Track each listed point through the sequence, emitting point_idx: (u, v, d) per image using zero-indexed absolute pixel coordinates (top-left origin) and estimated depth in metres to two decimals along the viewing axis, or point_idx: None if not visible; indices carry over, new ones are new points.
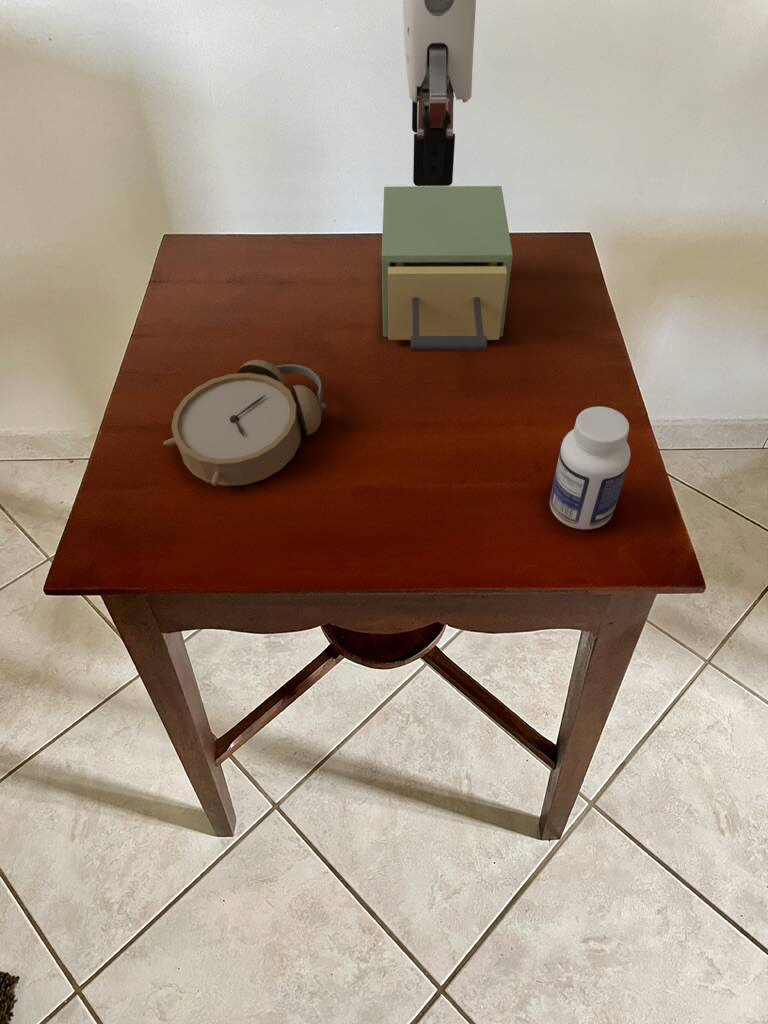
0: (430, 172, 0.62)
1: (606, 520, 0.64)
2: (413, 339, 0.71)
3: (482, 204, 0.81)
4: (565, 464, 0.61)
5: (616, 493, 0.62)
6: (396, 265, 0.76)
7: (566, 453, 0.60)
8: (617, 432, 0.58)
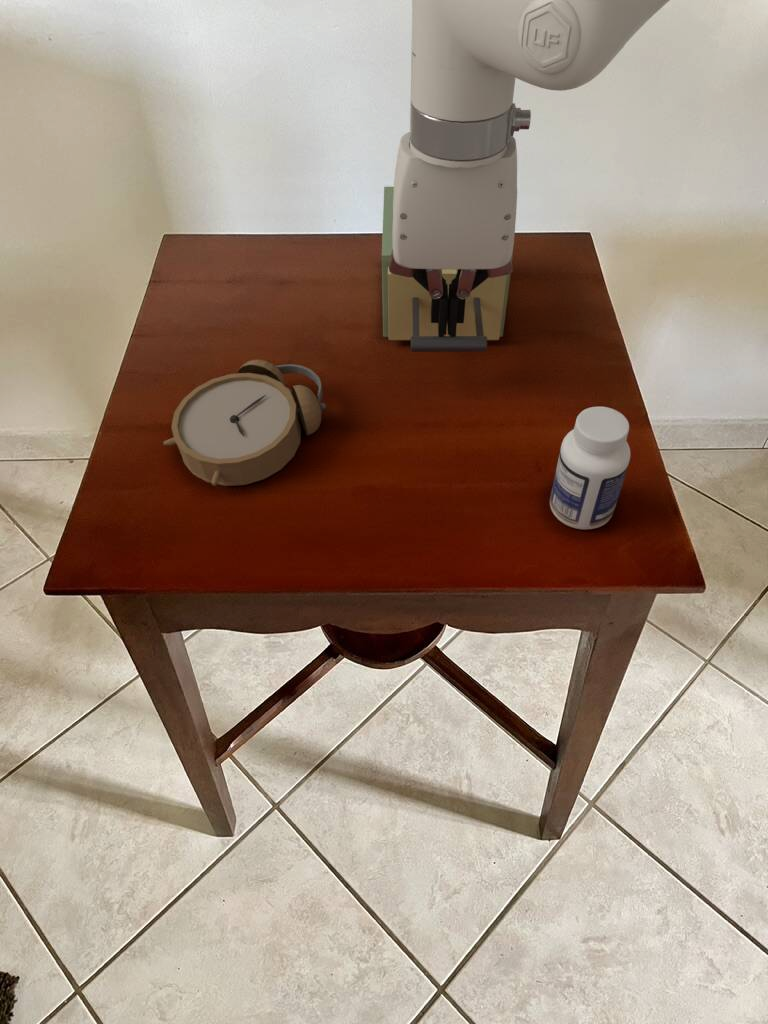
0: None
1: (606, 520, 0.64)
2: (413, 339, 0.71)
3: None
4: (565, 464, 0.61)
5: (616, 493, 0.62)
6: None
7: (566, 453, 0.60)
8: (617, 432, 0.58)
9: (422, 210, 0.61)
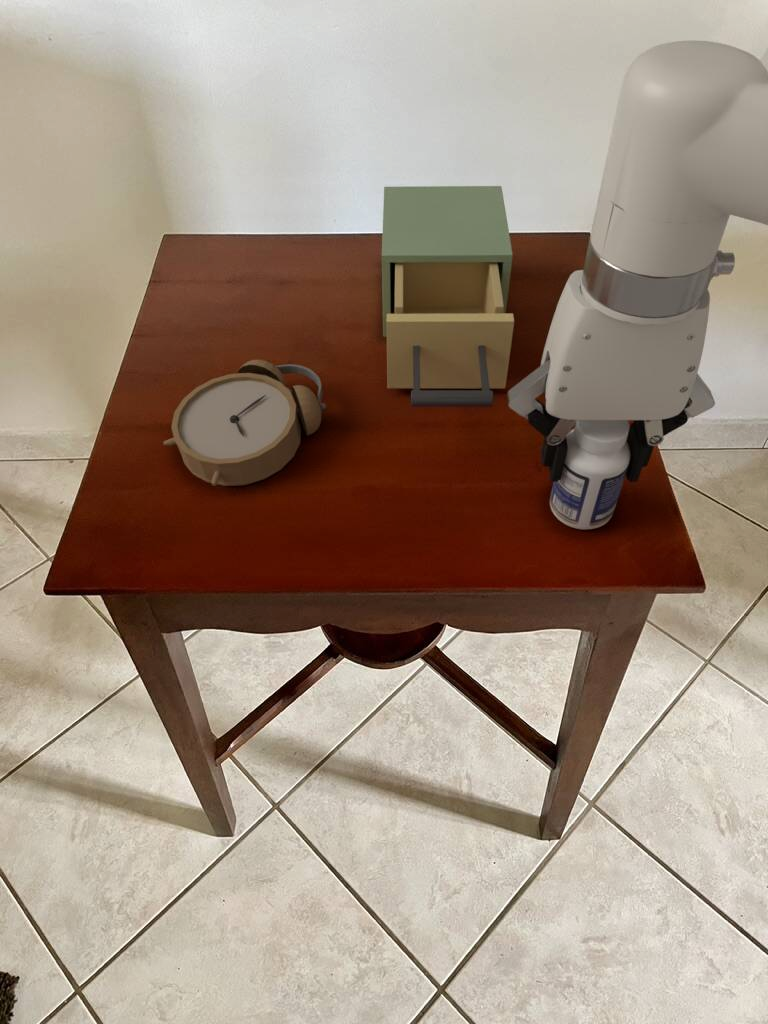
0: None
1: (606, 520, 0.64)
2: (414, 394, 0.66)
3: (482, 204, 0.81)
4: (565, 464, 0.61)
5: (616, 493, 0.62)
6: (395, 311, 0.71)
7: None
8: (617, 432, 0.58)
9: (591, 363, 0.52)
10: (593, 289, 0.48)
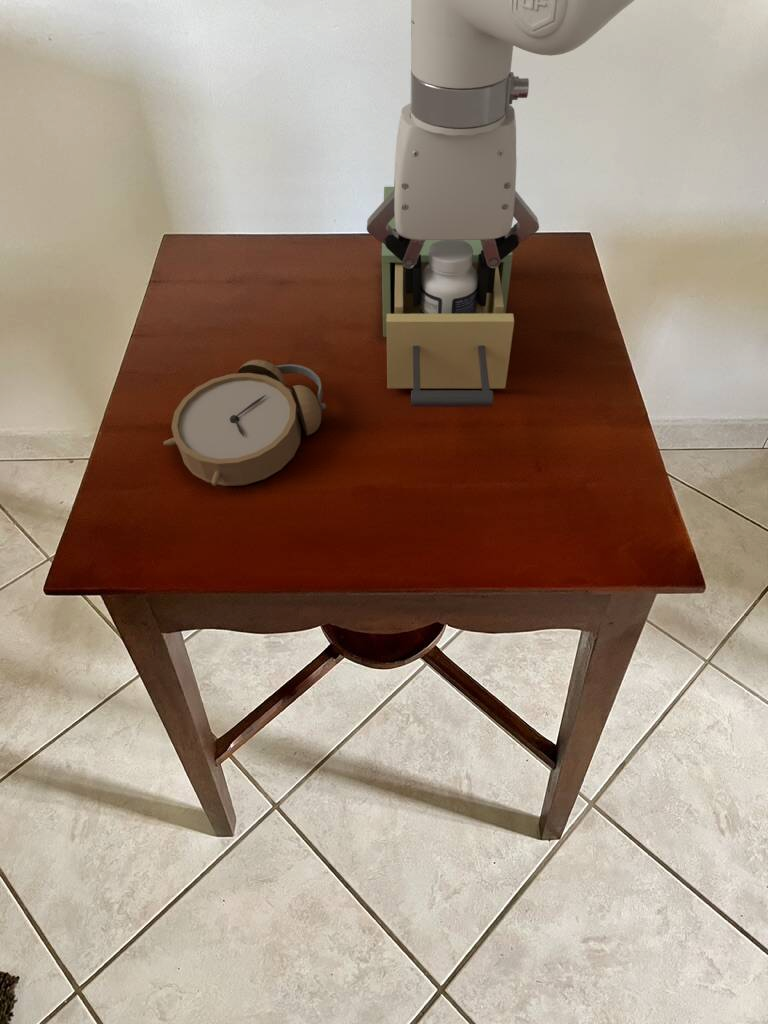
0: None
1: None
2: (414, 394, 0.66)
3: None
4: (423, 289, 0.71)
5: None
6: (395, 311, 0.71)
7: (423, 279, 0.71)
8: (461, 256, 0.69)
9: (423, 180, 0.62)
10: (415, 109, 0.59)
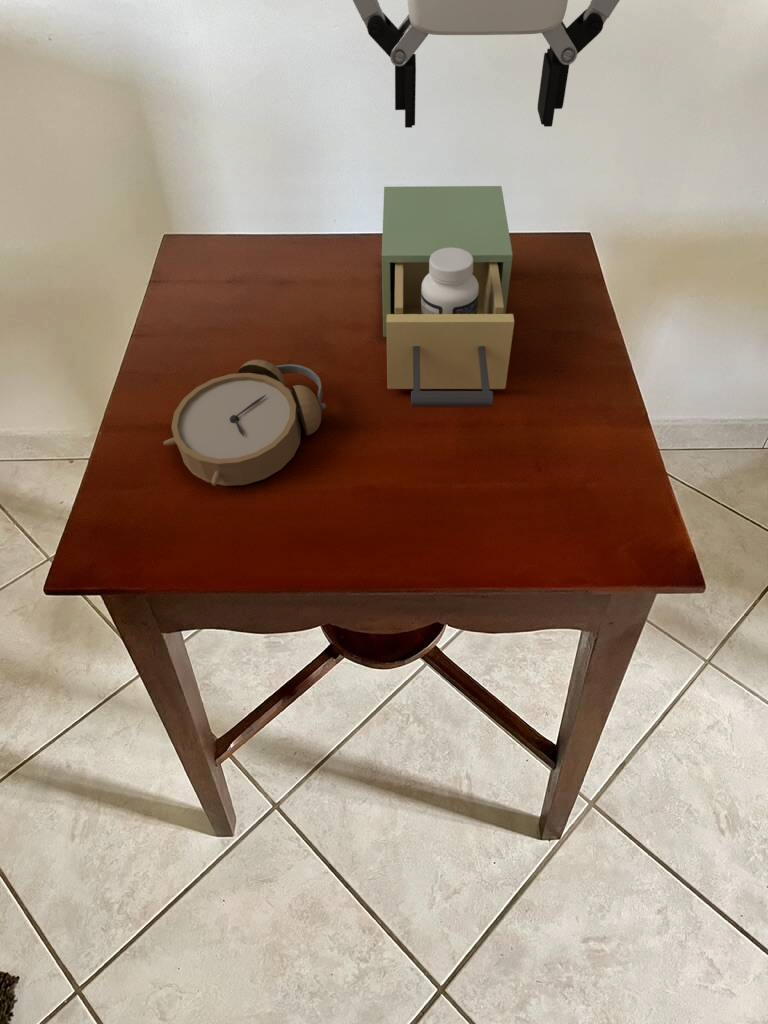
0: None
1: None
2: (414, 395, 0.66)
3: (482, 204, 0.81)
4: (423, 297, 0.72)
5: None
6: (395, 311, 0.71)
7: (423, 287, 0.72)
8: (462, 265, 0.69)
9: None
10: None
